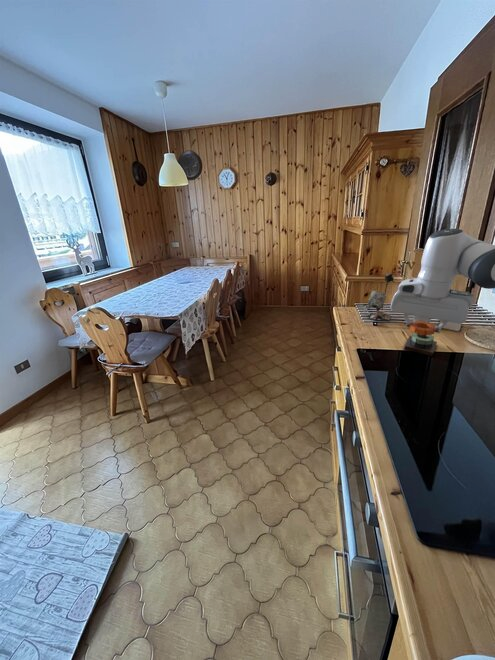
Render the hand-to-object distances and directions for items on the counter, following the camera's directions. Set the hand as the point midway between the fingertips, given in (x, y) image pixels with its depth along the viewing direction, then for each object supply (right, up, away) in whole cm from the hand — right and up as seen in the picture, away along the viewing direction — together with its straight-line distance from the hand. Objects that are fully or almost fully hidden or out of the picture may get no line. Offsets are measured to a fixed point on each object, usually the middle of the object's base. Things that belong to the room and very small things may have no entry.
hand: (422, 328), depth 90 cm
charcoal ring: (+8, -5, +13) cm, 17 cm away
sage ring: (+8, -4, +13) cm, 15 cm away
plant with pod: (+4, +5, +39) cm, 39 cm away
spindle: (+8, -7, +14) cm, 18 cm away
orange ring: (0, 0, 0) cm, 0 cm away
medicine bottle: (+28, +1, +27) cm, 39 cm away
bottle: (+18, +2, +30) cm, 35 cm away
